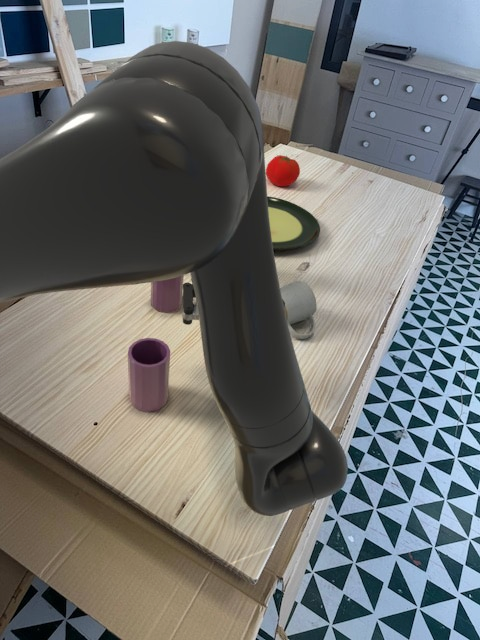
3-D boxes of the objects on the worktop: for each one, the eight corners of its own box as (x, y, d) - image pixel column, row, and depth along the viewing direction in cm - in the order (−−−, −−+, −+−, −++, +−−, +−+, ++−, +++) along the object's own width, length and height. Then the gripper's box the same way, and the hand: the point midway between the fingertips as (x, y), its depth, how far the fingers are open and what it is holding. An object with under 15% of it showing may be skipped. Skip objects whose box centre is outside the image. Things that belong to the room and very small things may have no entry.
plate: (195, 236, 113) (195, 227, 112) (233, 193, 134) (234, 185, 133) (305, 269, 109) (308, 260, 107) (327, 219, 130) (329, 211, 128)
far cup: (155, 315, 89) (156, 272, 83) (147, 296, 93) (147, 254, 87) (185, 310, 92) (188, 268, 85) (176, 292, 96) (178, 250, 89)
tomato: (261, 176, 146) (265, 150, 141) (292, 178, 149) (297, 152, 143) (267, 189, 140) (272, 162, 134) (300, 191, 142) (306, 164, 136)
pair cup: (134, 415, 71) (133, 370, 65) (125, 387, 75) (123, 342, 69) (172, 406, 73) (175, 362, 67) (161, 379, 77) (163, 334, 71)
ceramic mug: (257, 314, 94) (264, 284, 89) (288, 302, 98) (296, 273, 93) (292, 347, 88) (301, 316, 83) (322, 333, 92) (333, 303, 87)
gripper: (309, 321, 56) (270, 247, 68) (190, 329, 52) (171, 249, 64) (296, 365, 61) (262, 288, 73) (187, 375, 57) (170, 292, 69)
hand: (219, 270), depth 68 cm, fingers closed on front cup, 6 cm apart
